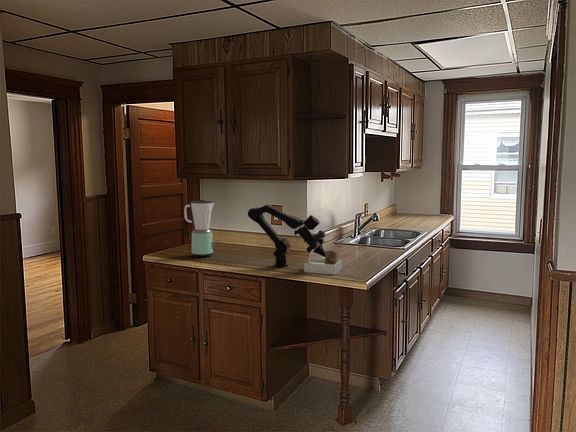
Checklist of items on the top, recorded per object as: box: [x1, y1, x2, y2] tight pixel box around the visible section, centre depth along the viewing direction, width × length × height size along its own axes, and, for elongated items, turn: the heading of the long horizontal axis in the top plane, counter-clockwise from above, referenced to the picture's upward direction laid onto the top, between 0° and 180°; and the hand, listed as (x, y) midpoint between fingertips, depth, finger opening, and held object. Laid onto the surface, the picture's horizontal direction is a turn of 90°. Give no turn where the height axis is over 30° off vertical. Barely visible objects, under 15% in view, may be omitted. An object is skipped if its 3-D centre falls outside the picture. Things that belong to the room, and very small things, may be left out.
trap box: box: [303, 257, 342, 275], centre depth 266 cm, size 17×15×5 cm
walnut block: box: [324, 248, 339, 265], centre depth 267 cm, size 6×6×8 cm
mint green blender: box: [183, 199, 216, 258], centre depth 302 cm, size 19×13×35 cm
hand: (326, 256), depth 268 cm, fingers closed, pressing on walnut block
